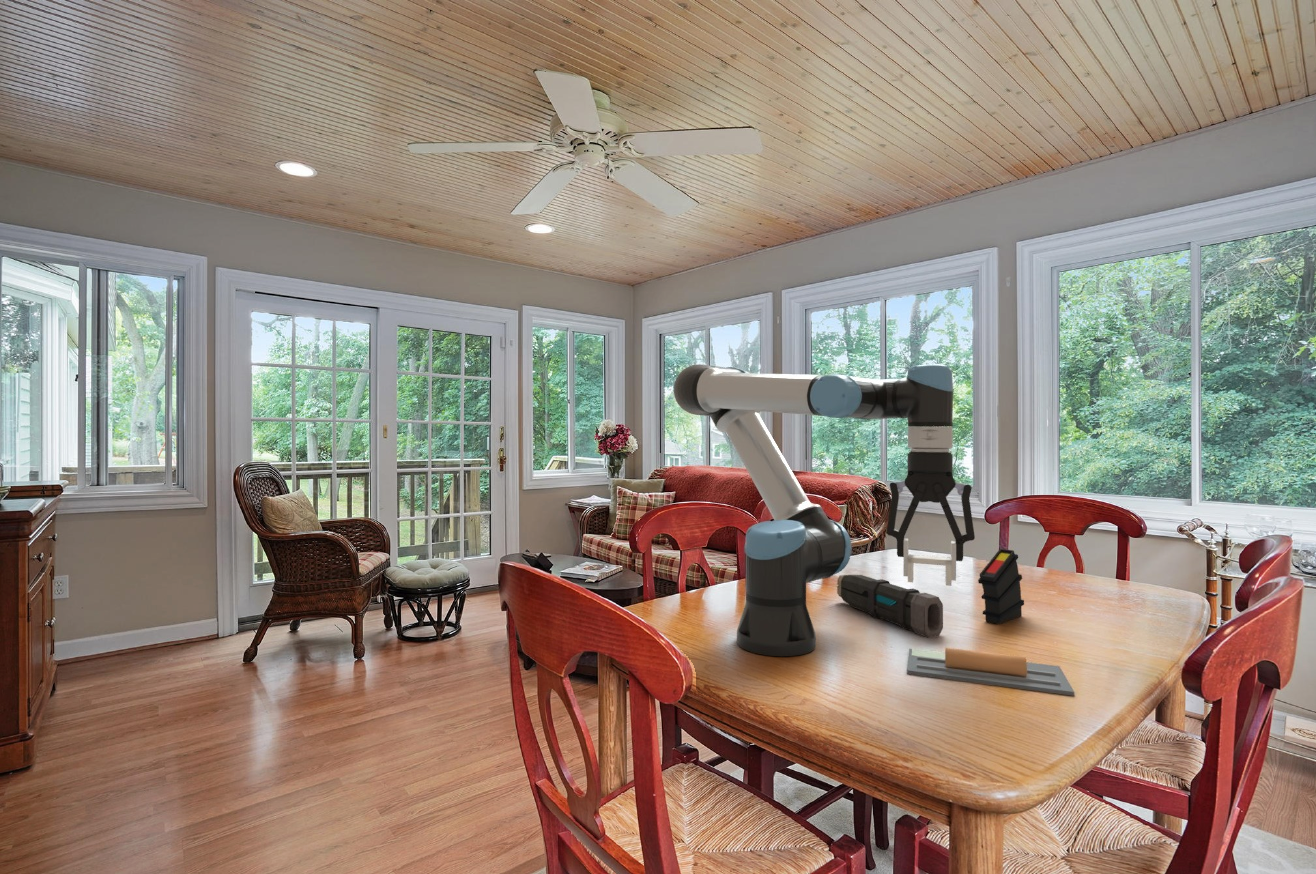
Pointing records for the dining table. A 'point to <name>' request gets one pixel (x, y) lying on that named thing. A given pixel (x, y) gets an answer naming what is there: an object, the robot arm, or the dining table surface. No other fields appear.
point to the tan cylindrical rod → (986, 662)
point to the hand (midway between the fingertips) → (929, 576)
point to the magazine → (1001, 588)
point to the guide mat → (990, 674)
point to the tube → (893, 603)
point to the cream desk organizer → (932, 561)
